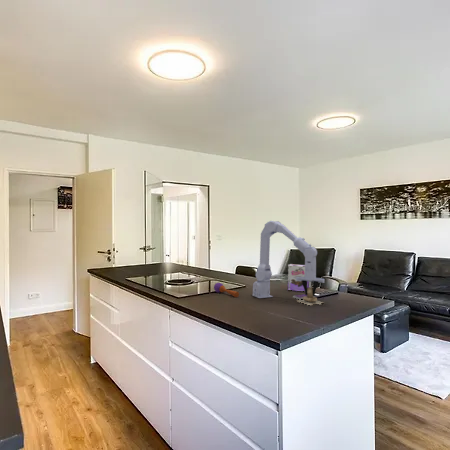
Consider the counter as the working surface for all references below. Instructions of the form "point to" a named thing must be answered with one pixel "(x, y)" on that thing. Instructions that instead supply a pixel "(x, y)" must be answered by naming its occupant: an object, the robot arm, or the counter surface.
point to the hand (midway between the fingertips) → (310, 295)
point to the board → (309, 302)
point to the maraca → (224, 289)
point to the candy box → (292, 274)
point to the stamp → (310, 295)
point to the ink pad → (299, 296)
